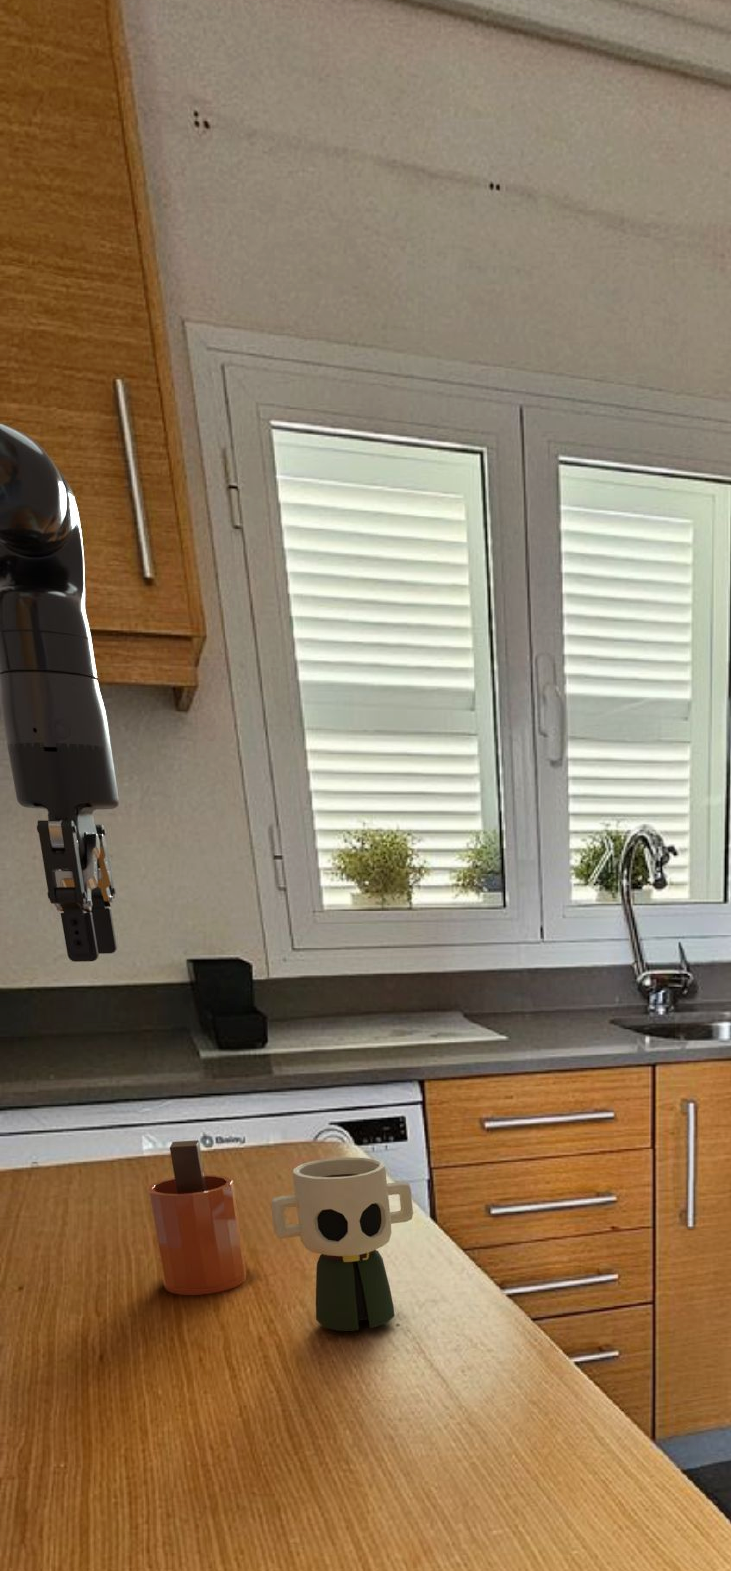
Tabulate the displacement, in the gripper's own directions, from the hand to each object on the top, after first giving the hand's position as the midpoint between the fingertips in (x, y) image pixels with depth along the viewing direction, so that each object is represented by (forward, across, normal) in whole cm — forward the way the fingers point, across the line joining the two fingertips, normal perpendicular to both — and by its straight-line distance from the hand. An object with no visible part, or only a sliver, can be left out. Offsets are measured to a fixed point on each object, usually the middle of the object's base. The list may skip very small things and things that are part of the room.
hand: (94, 956), depth 101 cm
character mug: (+28, +19, +19) cm, 39 cm away
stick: (+27, +5, +6) cm, 28 cm away
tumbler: (+28, +5, +6) cm, 29 cm away
